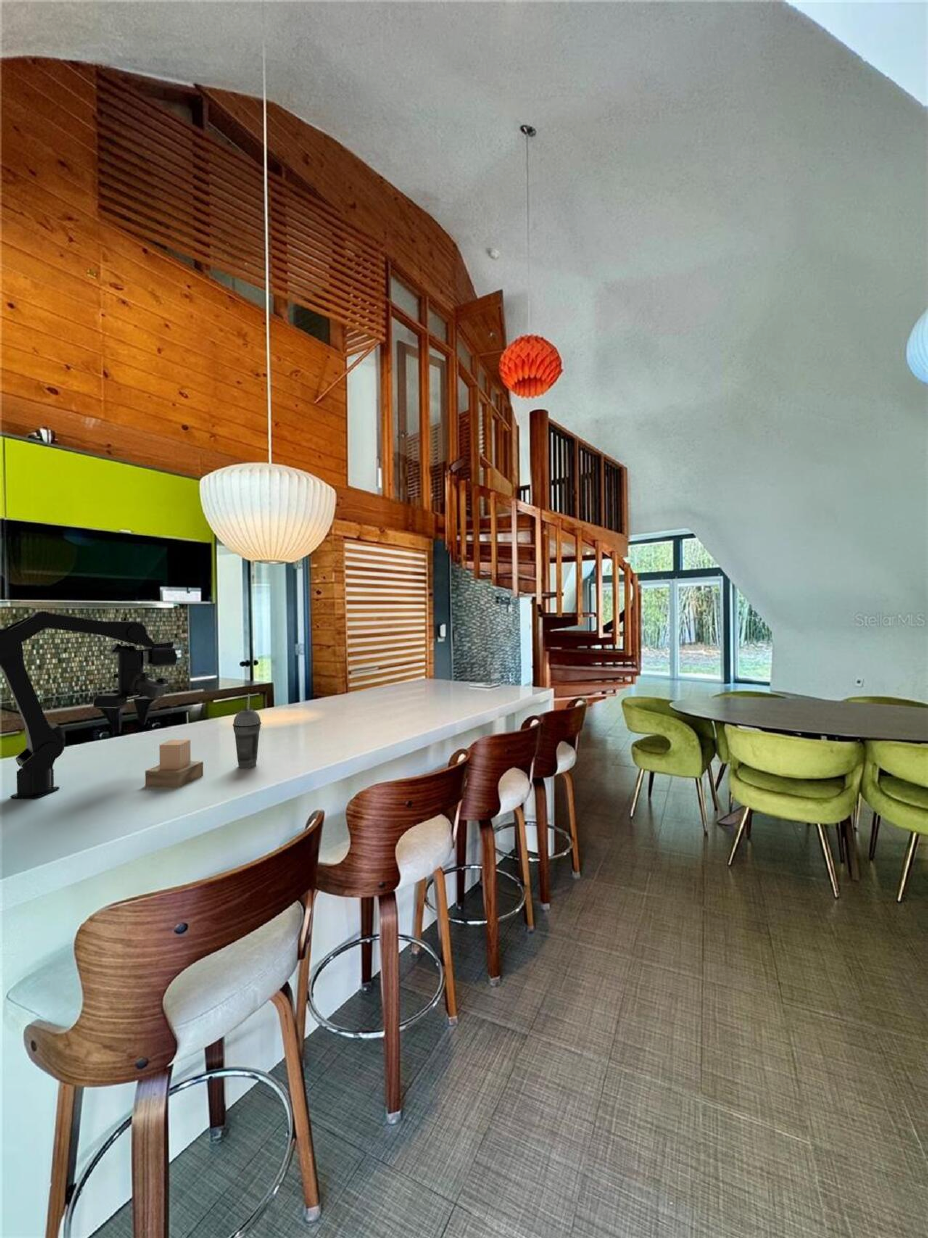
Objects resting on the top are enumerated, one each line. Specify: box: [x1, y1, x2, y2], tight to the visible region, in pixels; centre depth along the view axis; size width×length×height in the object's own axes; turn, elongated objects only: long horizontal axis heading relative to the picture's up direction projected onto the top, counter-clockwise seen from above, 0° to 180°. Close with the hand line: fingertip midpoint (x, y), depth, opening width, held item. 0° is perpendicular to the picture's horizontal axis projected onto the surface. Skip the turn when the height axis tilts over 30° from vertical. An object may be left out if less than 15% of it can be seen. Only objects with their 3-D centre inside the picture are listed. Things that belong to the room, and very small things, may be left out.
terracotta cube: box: [158, 739, 192, 769], centre depth 128 cm, size 5×5×6 cm
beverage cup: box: [232, 693, 262, 769], centre depth 140 cm, size 7×7×20 cm
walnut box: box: [144, 760, 204, 788], centre depth 128 cm, size 9×9×4 cm
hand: (130, 728), depth 133 cm, fingers open, 9 cm apart
